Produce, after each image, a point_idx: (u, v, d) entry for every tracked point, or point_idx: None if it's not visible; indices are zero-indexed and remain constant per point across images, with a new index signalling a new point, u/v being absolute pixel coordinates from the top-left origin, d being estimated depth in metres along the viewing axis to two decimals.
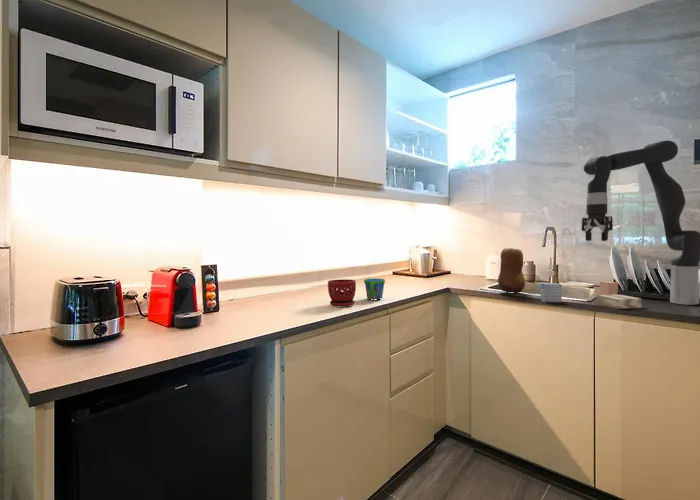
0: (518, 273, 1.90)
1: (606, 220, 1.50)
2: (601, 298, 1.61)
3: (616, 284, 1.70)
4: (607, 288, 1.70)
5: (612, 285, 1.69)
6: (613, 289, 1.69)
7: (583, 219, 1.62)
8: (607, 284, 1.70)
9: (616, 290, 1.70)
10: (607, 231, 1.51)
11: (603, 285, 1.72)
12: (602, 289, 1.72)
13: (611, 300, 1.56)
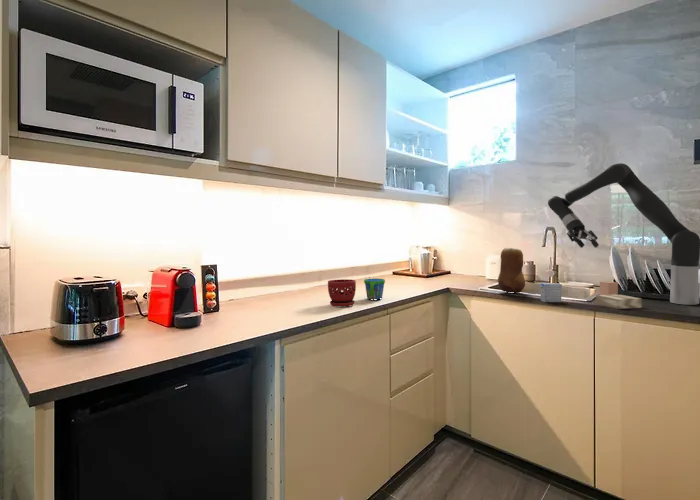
0: (518, 273, 1.90)
1: None
2: (601, 298, 1.61)
3: (616, 284, 1.70)
4: (607, 288, 1.70)
5: (612, 285, 1.69)
6: (613, 289, 1.69)
7: None
8: (607, 284, 1.70)
9: (616, 290, 1.70)
10: (576, 240, 1.83)
11: (603, 285, 1.72)
12: (602, 289, 1.72)
13: (611, 300, 1.56)
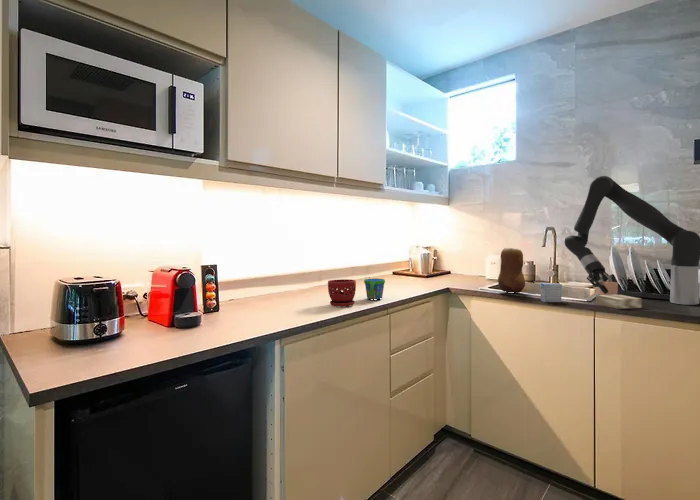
0: (518, 273, 1.90)
1: None
2: (601, 298, 1.61)
3: (616, 284, 1.69)
4: (607, 288, 1.70)
5: (612, 285, 1.69)
6: (613, 289, 1.69)
7: None
8: (607, 284, 1.70)
9: (616, 290, 1.70)
10: (599, 285, 1.72)
11: None
12: None
13: (611, 300, 1.56)
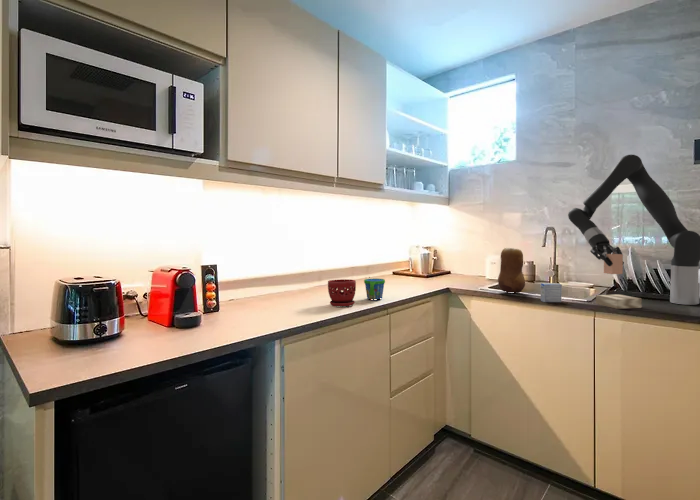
0: (518, 273, 1.90)
1: None
2: (601, 298, 1.61)
3: (621, 256, 1.64)
4: (611, 260, 1.64)
5: (617, 257, 1.63)
6: (618, 261, 1.63)
7: None
8: (611, 256, 1.64)
9: (621, 262, 1.64)
10: (603, 258, 1.66)
11: (607, 257, 1.66)
12: None
13: (611, 300, 1.56)
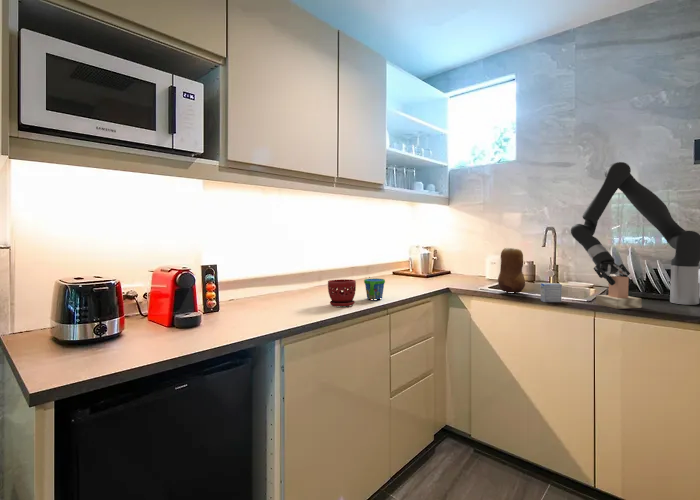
0: (518, 273, 1.90)
1: None
2: (601, 298, 1.61)
3: (627, 279, 1.57)
4: (617, 283, 1.57)
5: (622, 280, 1.57)
6: (623, 284, 1.57)
7: None
8: (617, 279, 1.57)
9: (626, 285, 1.57)
10: (605, 276, 1.60)
11: None
12: None
13: (611, 300, 1.56)
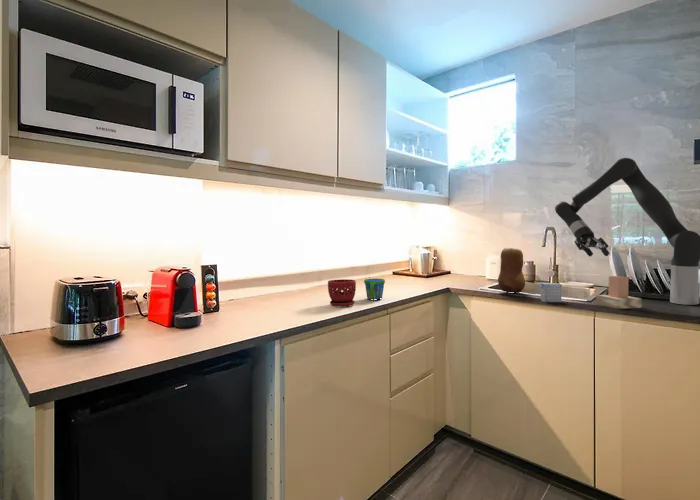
0: (518, 273, 1.90)
1: None
2: (601, 298, 1.61)
3: (627, 279, 1.57)
4: (617, 283, 1.57)
5: (622, 280, 1.57)
6: (623, 284, 1.57)
7: None
8: (617, 279, 1.57)
9: (626, 285, 1.57)
10: (584, 248, 1.71)
11: (612, 279, 1.60)
12: (611, 284, 1.60)
13: (611, 300, 1.56)
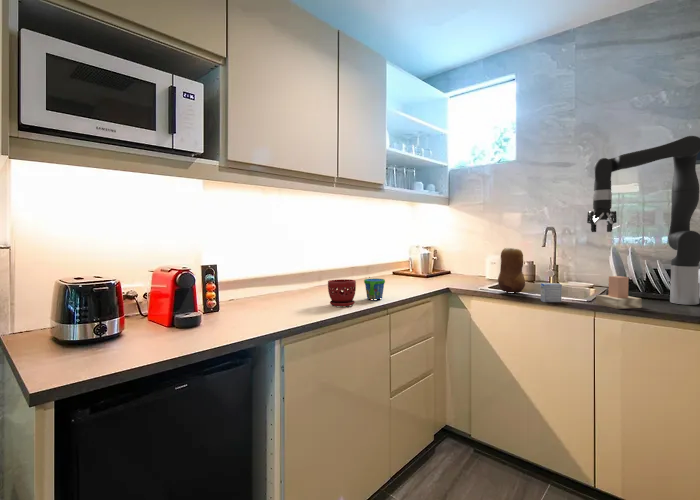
0: (518, 273, 1.90)
1: None
2: (601, 298, 1.61)
3: (627, 279, 1.57)
4: (617, 283, 1.57)
5: (622, 280, 1.57)
6: (623, 284, 1.57)
7: None
8: (617, 279, 1.57)
9: (626, 285, 1.57)
10: (592, 224, 1.78)
11: (612, 279, 1.60)
12: (611, 284, 1.60)
13: (611, 300, 1.56)
